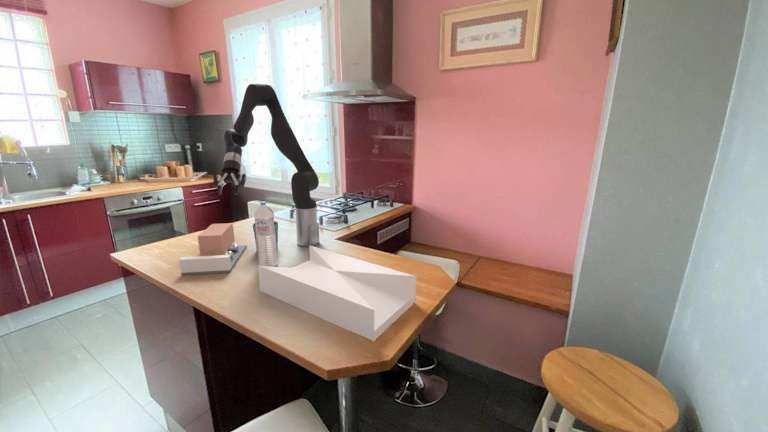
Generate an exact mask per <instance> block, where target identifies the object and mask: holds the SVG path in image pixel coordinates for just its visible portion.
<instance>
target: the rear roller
mask: <svg viewBox="0 0 768 432" xmlns="http://www.w3.org/2000/svg"><path fill="white" fill-rule="evenodd" d="M238 249H239V244H237V243H233V244H232V245H231V246H230V248H229V249H228V250H227V251H237V250H238Z"/></svg>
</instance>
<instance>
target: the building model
mask: <svg viewBox="0 0 768 432" xmlns="http://www.w3.org/2000/svg"><path fill="white" fill-rule="evenodd" d="M308 247H309V250H308V251H309V260H306V261H305V262H302V263H301V264H298V265H296V266H293V267H285V266H283V267H282V266H275V267H272V266H259V265H257V270H258V281H259V291H260V292H261V293H264V294H266V295H269V296H270V297H273V298H275V299H277V300H279V301H281V302H284V303H286V304H288V305H291V306H292V307H295V308H297V309H300V310H302V311H304V312H306V313H309V314H310V315H313V316H316V317H318V318H320V319H322V320H325V321H326V322H329V323H332V324H334V325H336V326H338V327H339V328H342V329H344V330H347V331H349V332H351V331H352V332H351V333H353V332H354V334H355V333H356V334H355V335H358V334H359V335H358V336H360V335H361V336H360V337H362V336H364V337H366V338H365V339H367V338H369V339H371V340H375V339H376V338H378V337H379V336H380V334H382V333H383V331H385V330H386V329H387V328H388V327H389V326H390V325H391V324H392V323H393V322H394V321H395V320H396V319H397V318H398V317H399V316H400V315H401V314H402V313H403V312H404V311H405V310H406V309H407V308H408V307H409V306H411V305H412V304H413V303H414V302H415V303H416V295H417V292H416V291H417V275H413V274H410V273H406V272H404V271H399V270H397V269H396V270H395V269H393V268H390V267H386V266H383V265H379V264H376V263H372V262H368V261H365V260H363V259H362V260H361V259H358V258H355V257H351V256H347V255H346V254H345V255H344V254H341V253H338V252H334V251H331V250H327V249H324V248H321V247H316V246H315V245H314V246H310V245H309V246H308ZM391 326H392V325H391ZM391 326H390V327H391ZM390 327H389V328H390ZM389 328H388V329H389ZM388 329H387V330H388ZM387 330H386V331H387ZM386 331H385V332H386ZM383 334H384V333H383ZM383 334H382V335H383ZM364 337H363V338H364ZM380 337H381V336H380ZM380 337H379V338H380ZM379 338H378V339H379ZM369 339H368V340H369ZM371 340H370V341H371ZM375 341H376V340H375Z"/></svg>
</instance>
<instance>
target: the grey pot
mask: <svg viewBox="0 0 768 432" xmlns="http://www.w3.org/2000/svg"><path fill="white" fill-rule="evenodd" d="M274 227H275V235H276V249H277V251H278V249H279V248H278V243H279V242H278V241H279V237H278V236H279V223H278V221H275V220H274ZM252 229H253V235H254V236H253V237H254V240H255V246H256V250H257V241H256V226H255V222H254V223H253V224H252Z"/></svg>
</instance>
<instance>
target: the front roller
mask: <svg viewBox="0 0 768 432" xmlns="http://www.w3.org/2000/svg"><path fill="white" fill-rule="evenodd" d="M224 255H230V257H231V258H232V257H233V256H234V253H233V252H232V251H226V252H225V254H224ZM197 256H200V252H199V253H198V254H197Z"/></svg>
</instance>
